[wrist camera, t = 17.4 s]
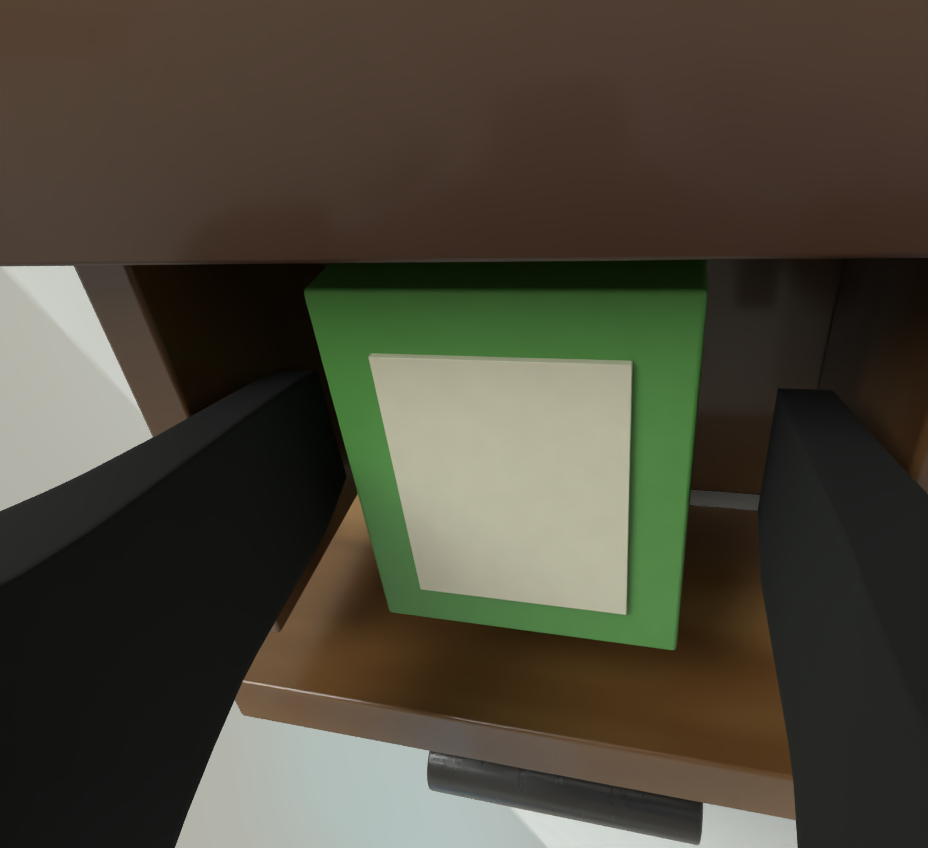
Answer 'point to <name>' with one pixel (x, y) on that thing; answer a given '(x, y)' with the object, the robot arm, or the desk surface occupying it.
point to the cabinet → (461, 130)
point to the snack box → (521, 435)
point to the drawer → (533, 653)
